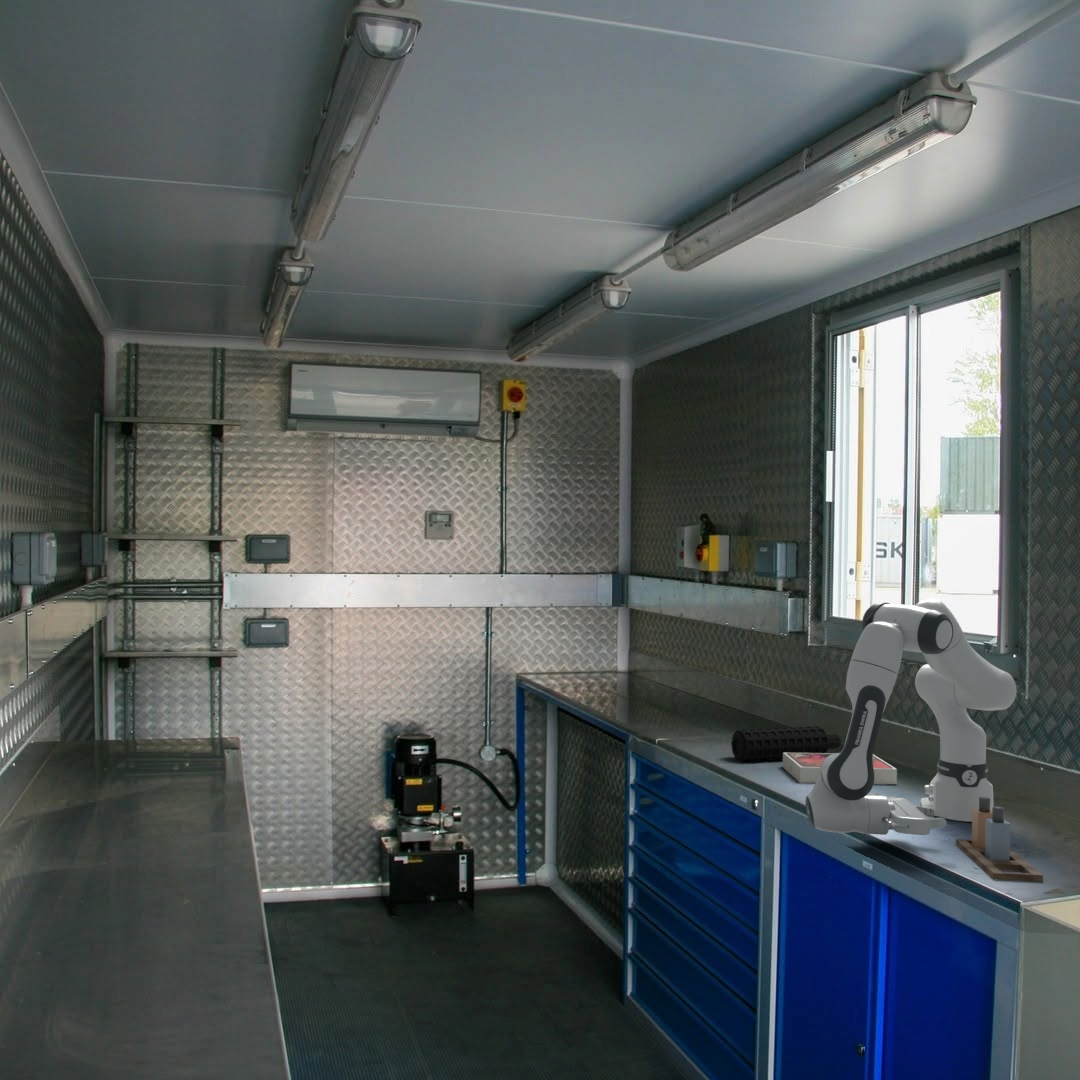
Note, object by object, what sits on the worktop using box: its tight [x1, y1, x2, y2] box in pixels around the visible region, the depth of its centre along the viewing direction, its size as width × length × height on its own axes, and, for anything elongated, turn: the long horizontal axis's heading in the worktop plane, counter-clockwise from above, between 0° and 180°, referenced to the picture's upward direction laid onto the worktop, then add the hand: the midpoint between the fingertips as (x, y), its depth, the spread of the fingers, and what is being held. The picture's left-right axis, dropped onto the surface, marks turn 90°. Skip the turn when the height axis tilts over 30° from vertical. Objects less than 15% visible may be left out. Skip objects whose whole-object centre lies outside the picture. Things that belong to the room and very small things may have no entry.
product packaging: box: [782, 752, 898, 785], centre depth 328 cm, size 22×28×5 cm
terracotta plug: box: [971, 797, 992, 848], centre depth 250 cm, size 4×4×12 cm
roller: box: [730, 726, 842, 763], centre depth 353 cm, size 38×10×10 cm, turn 110°
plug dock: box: [955, 838, 1044, 883], centre depth 241 cm, size 26×10×2 cm, turn 176°
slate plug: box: [985, 806, 1011, 861], centre depth 241 cm, size 4×4×12 cm
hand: (939, 817), depth 250 cm, fingers open, 8 cm apart
